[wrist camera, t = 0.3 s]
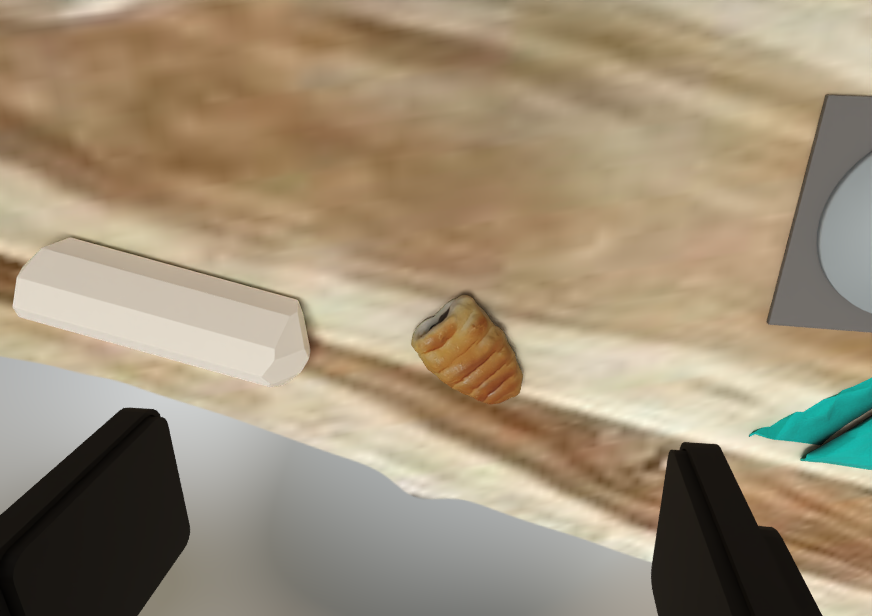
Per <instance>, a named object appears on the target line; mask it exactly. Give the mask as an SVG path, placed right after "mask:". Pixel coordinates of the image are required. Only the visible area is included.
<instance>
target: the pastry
mask: <svg viewBox="0 0 872 616" xmlns="http://www.w3.org/2000/svg"><path fill="white" fill-rule="evenodd" d="M411 345H412V347H413V348H414V349H415V351H416V352H417V353H418V355H419V357H420V358H421V359H422V361H423V363H424V365H425V366H426V368H427V369H428V370H429V371H431V372H432V373H433V374H435V375H436V376H437V377H438V378H439V379H440V380H441V381H443V382H444V383H445V384H447V385H449V386H450V387H451V388H453V389H455V390H458V391H459V392H461V393H463V394H465V395H469V396H471V397H473V398H475V399H477V400H478V401H481V402H484V403H487V404H497V403H501V402H503V401H506V400H508V399H509V398H511V397H515V396H517V395H518V394H519V393H520V390H521V384H522V378H523V374H522V371H521V369H520V368H519V365H518V363H517V361H516V356H515V353H514V352H513V350H512V348H511V347H510V345H509V343H508V341H507V338H506V336H505V334H504V332H503V331H502V330H501V329H500V328H499V327H497V326H495V325H494V324H493V323H492V321H491V320H490V318H489V316H488V315H487V314H486V312H485V311H484V310H483V309H481V308H480V307H479V305H478V304H477V303H476V302H475V301H474V299H473V298H472V297H470V296H469V295H461V296H460V297H458V298H457V299H453V300H451V301H450V302H448V303H447V304H445V305H444V307H443V308H442V309H441V310H440V311H439V312H438V313H437V314H436V315H435V316H434V317H432V318H429V319H427V320H425V321H423V322H422V323H421V324H420V325H419V326H418V327H417V328H416V330H415V332H414V334H413V337H412V342H411Z"/></svg>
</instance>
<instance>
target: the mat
mask: <svg viewBox="0 0 872 616" xmlns="http://www.w3.org/2000/svg"><path fill="white" fill-rule="evenodd" d="M871 151H872V96H845V95H826V96H825V100H824V104H823V108H822V111H821V115H820V119H819V123H818V127H817V131H816V135H815V138H814V142H813V146H812V150H811V154H810V158H809V162H808V165H807V169H806V173H805V177H804V181H803V185H802V188H801V192H800V196H799V200H798V204H797V208H796V212H795V215H794V219H793V223H792V227H791V231H790V235H789V239H788V242H787V246H786V250H785V254H784V258H783V262H782V265H781V269H780V273H779V277H778V281H777V285H776V289H775V292H774V296H773V300H772V304H771V308H770V312H769V316H768V319H767V323H768V324H770V325H782V326H795V327H808V328H821V329H833V330H846V331H859V332H872V313H869V312H867V311H864V310H862V309H860V308H858V307H857V306H855V305H853V304H852V303H850V302H849V301H848V300H847V299H845V298H844V297H843V296H842V295H840V294H839V293H838V292H837V291H836V290H835V289H834V288H833V287H832V286H831V284H830V283H829V281H828V280H827V278H826V277H825V275H824V273H823V271H822V268H821V266H820V262H819V259H818V254H817V244H816V243H817V230H818V225H819V220H820V217H821V214H822V212H823V209H824V206H825V204H826V202H827V200H828V198H829V196H830V195H831V193H832V192H833V190H834V188H835V187H836V185H837V184H838V183H839V181H840V180H841V179H842V178H843V177H844V175H845V174H846V173H847V172H848V171H849V170H850V169H851V168H852V167H853V166H854V165H855V164H856V163H857V162H858V161H860V160H861V159H862V158H864V157H865V156H866V155H867V154H869V153H870V152H871Z"/></svg>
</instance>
